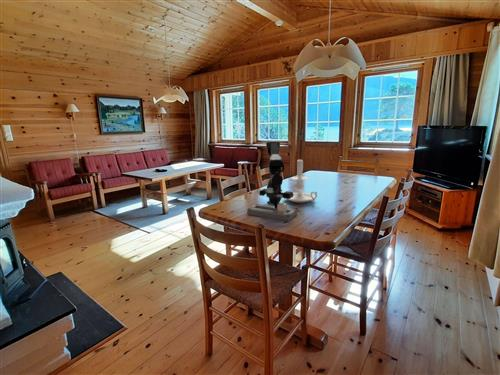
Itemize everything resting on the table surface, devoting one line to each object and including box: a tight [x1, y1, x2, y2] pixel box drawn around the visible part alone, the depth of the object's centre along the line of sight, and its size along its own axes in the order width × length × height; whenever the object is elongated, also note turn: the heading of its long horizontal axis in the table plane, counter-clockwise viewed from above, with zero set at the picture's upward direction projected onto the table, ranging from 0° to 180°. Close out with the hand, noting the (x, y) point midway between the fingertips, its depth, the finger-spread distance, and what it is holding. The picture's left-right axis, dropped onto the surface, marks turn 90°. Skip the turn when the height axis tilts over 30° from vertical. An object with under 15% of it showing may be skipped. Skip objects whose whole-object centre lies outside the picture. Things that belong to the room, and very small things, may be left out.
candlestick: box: [287, 159, 319, 204], centre depth 175 cm, size 21×25×28 cm
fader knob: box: [278, 202, 288, 213], centre depth 150 cm, size 4×4×5 cm
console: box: [246, 203, 298, 222], centre depth 154 cm, size 12×26×3 cm, turn 58°
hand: (276, 208), depth 152 cm, fingers closed
